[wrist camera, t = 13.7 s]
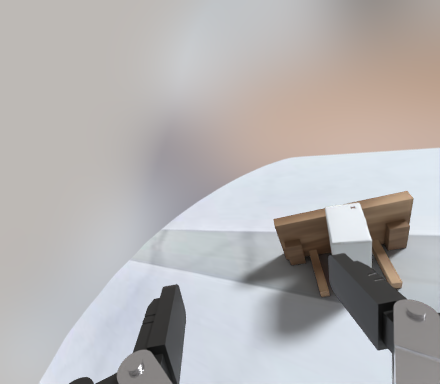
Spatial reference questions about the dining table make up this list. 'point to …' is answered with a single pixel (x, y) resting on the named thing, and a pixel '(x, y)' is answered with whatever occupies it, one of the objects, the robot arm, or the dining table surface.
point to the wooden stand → (377, 225)
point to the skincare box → (349, 232)
